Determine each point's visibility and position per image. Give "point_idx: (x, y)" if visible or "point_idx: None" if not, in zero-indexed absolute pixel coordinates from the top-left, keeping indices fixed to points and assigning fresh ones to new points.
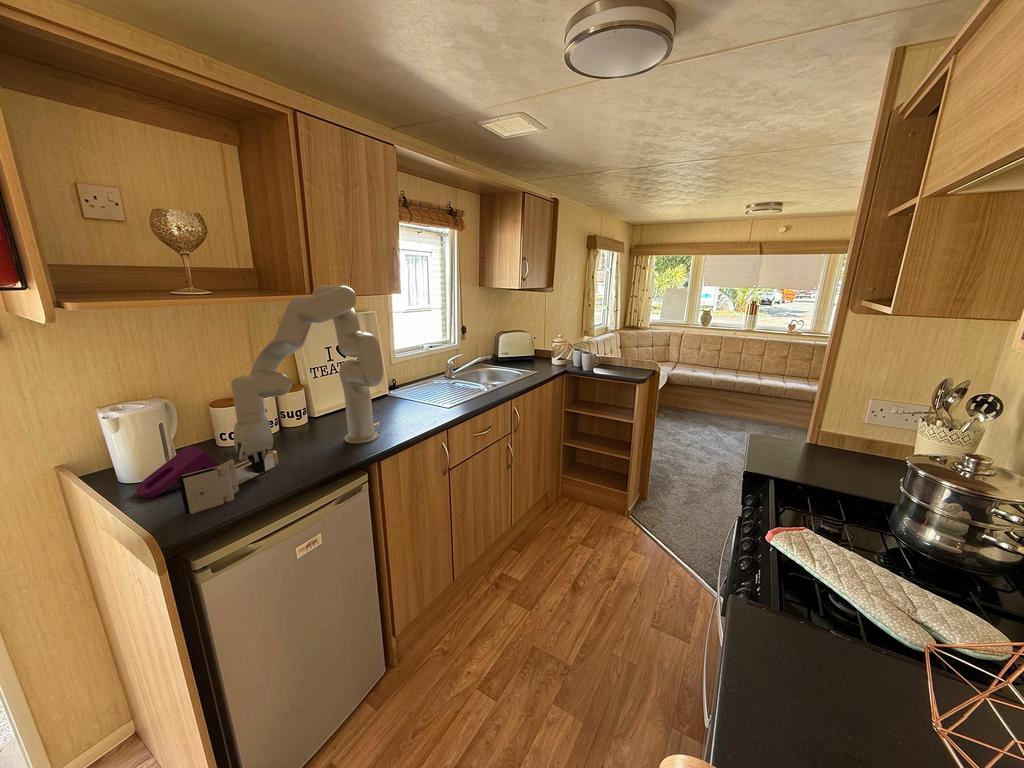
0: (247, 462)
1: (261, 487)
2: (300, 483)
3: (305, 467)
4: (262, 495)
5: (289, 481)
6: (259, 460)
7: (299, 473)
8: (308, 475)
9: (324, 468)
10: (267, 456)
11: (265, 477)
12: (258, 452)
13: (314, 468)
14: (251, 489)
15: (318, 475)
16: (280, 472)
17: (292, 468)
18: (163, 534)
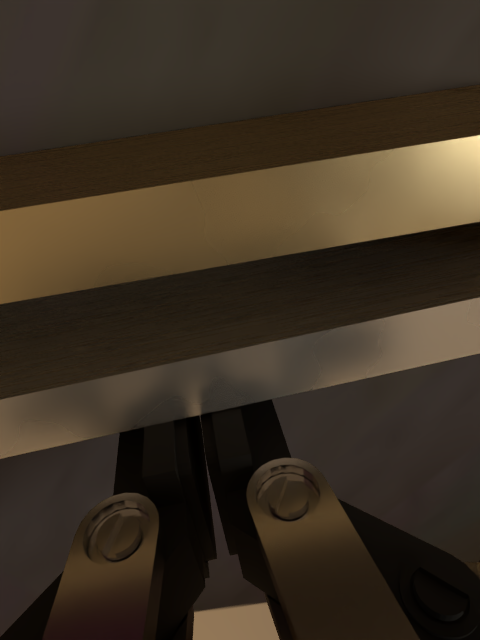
0: (150, 268)
1: (87, 503)
2: (262, 593)
3: (476, 451)
4: (34, 587)
5: None
6: (230, 531)
7: (375, 497)
8: None
9: (476, 536)
10: (470, 354)
11: None
12: (328, 606)
13: (468, 501)
14: (16, 482)
15: None
16: (349, 387)
17: (444, 395)
18: None
